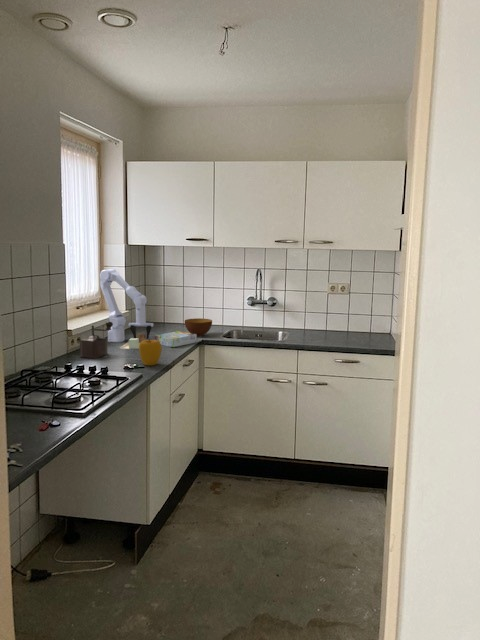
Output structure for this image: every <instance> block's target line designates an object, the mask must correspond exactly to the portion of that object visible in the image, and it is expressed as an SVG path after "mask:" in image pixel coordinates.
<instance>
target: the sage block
mask: <svg viewBox="0 0 480 640" xmlns="http://www.w3.org/2000/svg"><path fill="white" fill-rule="evenodd" d="M128 342H129V348H132V349H133V350H135V349H137V348H138V347H139V338H137V337H136V338H134V337H130V339H128ZM132 349H131V350H132ZM137 350H138V349H137Z"/></svg>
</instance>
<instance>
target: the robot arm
mask: <svg viewBox="0 0 480 640" xmlns="http://www.w3.org/2000/svg"><path fill="white" fill-rule="evenodd" d="M98 276H99V278H100V279H99V280H100V281H99V287H100V289H101V293H102V295H103V297H104V301H105V303H106V305H107V309H108V311H109V315H108V319H109V321H110V322H112V323H113V326H112V327H111V330H109V331H107V343H109V342H113V343H114V342H115V343H116V342H117V343H118V342H119V343H120V342H121V343H122V342H125V325H126V324H127V323H126V322H127V318H126V317H125V315H124V314H123V312H122V311H120V310H119V307H118V304H117V301H116V299H115V296H114V294H113V290H112V288H111V285H112V283H113V282H116V283H117V284H118V285H119V286H120V287H122V289H124V291H125V294H126V295H127V296H128V297H129V298H130V299H131V300H132V301H133V304H134V305H135V322H128V327H129V329H130V331H131V333H132V335H133V338H137V337H136V335H137V327H145V329H146V330H145V331H146V340H149V339H150V333H151V331H152V328H153V327H154V322H147V319H146V318H147V316H146V315H147V314H146V313H147V312H146V304H147V302H148V299H147V296H146V295H144V294H142V293H141V292H140V291H138V290H137V289H136V286H133V285H131V286H130V284H128V282H127V281H126V280H125V279H124V278H123V277H122V276H121V275H120V273H119V272H118V271H117V270H116V269H115V268H110V269H103V270H100V274H99V275H98Z"/></svg>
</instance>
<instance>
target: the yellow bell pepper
mask: <svg viewBox="0 0 480 640" xmlns="http://www.w3.org/2000/svg"><path fill="white" fill-rule="evenodd" d="M138 350H139V352H138V353H139V357H140V360H141V362H142V364H143V365H145V366H146V367H148V366H150V367H151V366H155V365H157V364H158V363H159V361H160V359H161V358H160V357H161V354H162V345H161V344H160V342H159V341H157V340H155V339H150V338H148V339H146V340H143V341H141V342H140V344H139V349H138Z"/></svg>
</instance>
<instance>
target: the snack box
mask: <svg viewBox="0 0 480 640" xmlns="http://www.w3.org/2000/svg"><path fill="white" fill-rule="evenodd" d="M154 340H157V341H159V342H160V344H161V346H166V347H171V348H176V347H181V346H186V345H191V344H194V343H197V342H198V341H197V334H192V333H190V332H185V331H179V330H177V331H172V332H166V333H161V334H155V335H154Z"/></svg>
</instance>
